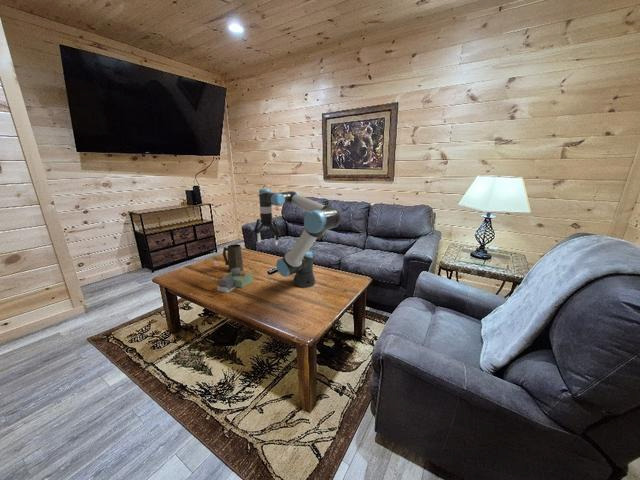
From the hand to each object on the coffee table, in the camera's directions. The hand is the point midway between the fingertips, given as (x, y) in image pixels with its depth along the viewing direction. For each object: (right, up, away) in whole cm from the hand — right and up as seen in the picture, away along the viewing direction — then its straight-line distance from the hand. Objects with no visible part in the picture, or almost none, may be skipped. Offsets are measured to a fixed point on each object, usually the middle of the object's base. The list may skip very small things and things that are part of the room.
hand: (267, 243), depth 179 cm
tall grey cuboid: (-25, -29, -7) cm, 39 cm away
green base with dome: (-23, -28, -2) cm, 36 cm away
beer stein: (-31, -21, +23) cm, 44 cm away
